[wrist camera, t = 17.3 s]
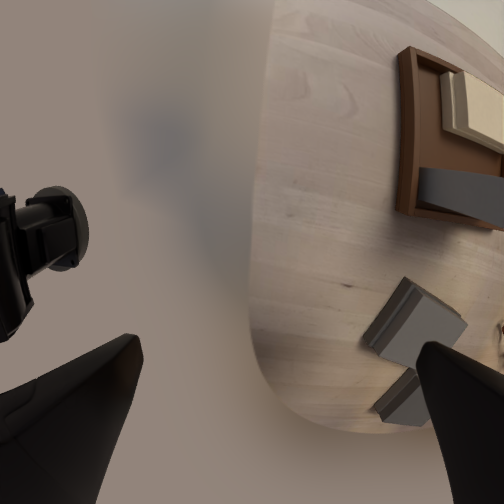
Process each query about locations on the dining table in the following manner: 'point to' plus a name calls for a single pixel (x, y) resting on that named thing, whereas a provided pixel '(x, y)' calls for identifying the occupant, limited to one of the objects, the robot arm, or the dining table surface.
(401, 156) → the book tray
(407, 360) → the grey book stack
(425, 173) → the white book
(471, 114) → the white book stack
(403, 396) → the dark grey book stack
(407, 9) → the dining table surface
